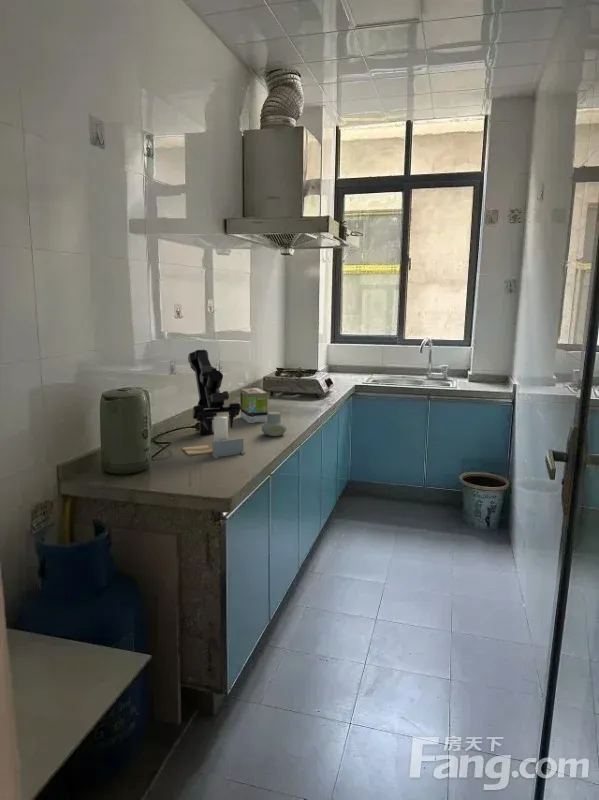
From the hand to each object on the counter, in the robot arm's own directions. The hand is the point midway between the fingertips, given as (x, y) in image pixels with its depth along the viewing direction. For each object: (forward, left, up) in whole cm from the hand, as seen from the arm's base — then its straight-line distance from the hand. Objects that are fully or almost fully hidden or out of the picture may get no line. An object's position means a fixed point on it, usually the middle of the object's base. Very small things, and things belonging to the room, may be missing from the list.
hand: (220, 428), depth 211 cm
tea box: (-44, +32, -9) cm, 55 cm away
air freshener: (-13, +29, -9) cm, 33 cm away
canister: (+1, 0, -9) cm, 9 cm away
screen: (+7, +1, -9) cm, 11 cm away
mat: (-4, -8, -9) cm, 13 cm away
